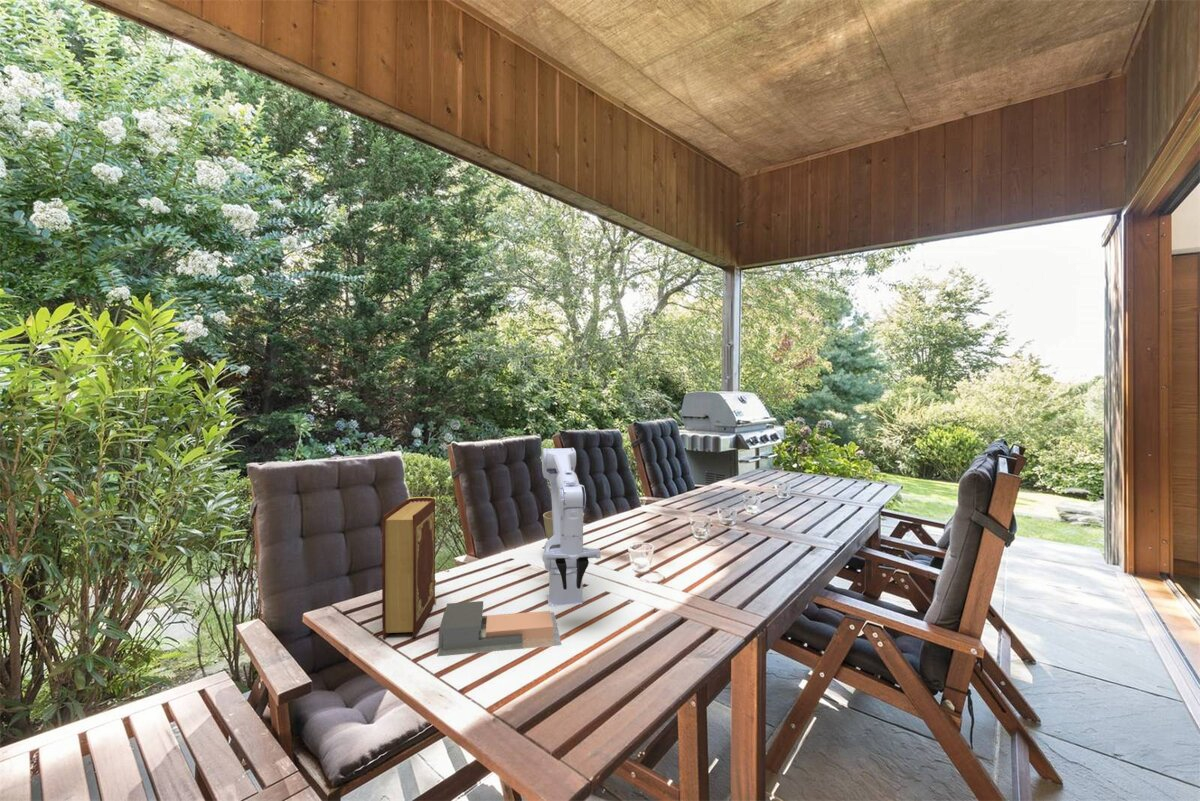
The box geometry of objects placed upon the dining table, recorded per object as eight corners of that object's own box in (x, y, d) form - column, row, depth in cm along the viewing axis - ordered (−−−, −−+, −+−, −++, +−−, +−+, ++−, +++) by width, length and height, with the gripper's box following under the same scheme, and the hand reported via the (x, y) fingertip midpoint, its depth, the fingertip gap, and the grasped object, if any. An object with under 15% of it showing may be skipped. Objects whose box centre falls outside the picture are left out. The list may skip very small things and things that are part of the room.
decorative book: (409, 601, 142) (409, 496, 142) (437, 601, 143) (437, 496, 142) (381, 640, 120) (381, 515, 119) (415, 639, 120) (415, 515, 120)
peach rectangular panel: (550, 620, 130) (550, 610, 130) (553, 636, 121) (553, 626, 121) (486, 625, 127) (487, 615, 127) (485, 642, 118) (485, 632, 118)
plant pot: (543, 552, 188) (543, 509, 187) (582, 551, 189) (582, 509, 189) (542, 565, 173) (543, 519, 173) (585, 564, 174) (585, 518, 174)
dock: (554, 614, 134) (554, 592, 134) (561, 647, 117) (561, 622, 117) (445, 622, 129) (445, 600, 129) (436, 659, 111) (436, 633, 111)
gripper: (544, 539, 121) (544, 595, 121) (603, 536, 123) (602, 591, 123) (542, 532, 128) (541, 585, 128) (597, 529, 130) (597, 581, 130)
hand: (571, 587), depth 126 cm, fingers open, 3 cm apart
